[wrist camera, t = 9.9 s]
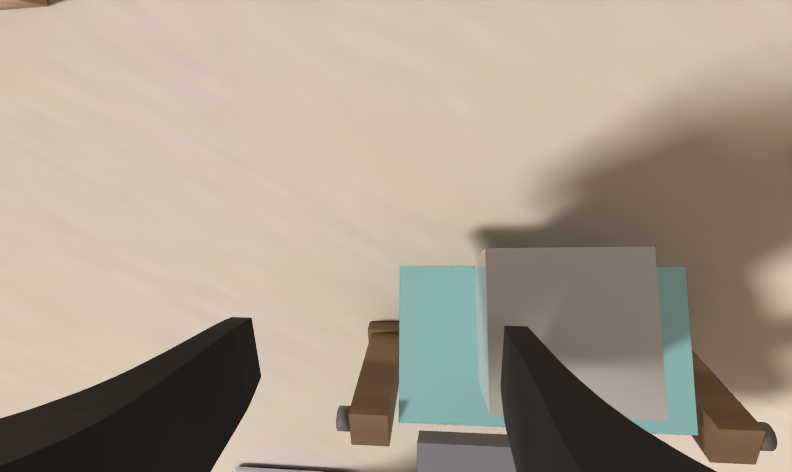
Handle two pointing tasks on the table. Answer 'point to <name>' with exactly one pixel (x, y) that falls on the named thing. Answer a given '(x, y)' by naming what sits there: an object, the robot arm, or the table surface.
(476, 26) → the table surface
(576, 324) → the light grey cube
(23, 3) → the square wooden tray
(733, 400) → the frame
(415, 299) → the trapdoor
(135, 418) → the robot arm
